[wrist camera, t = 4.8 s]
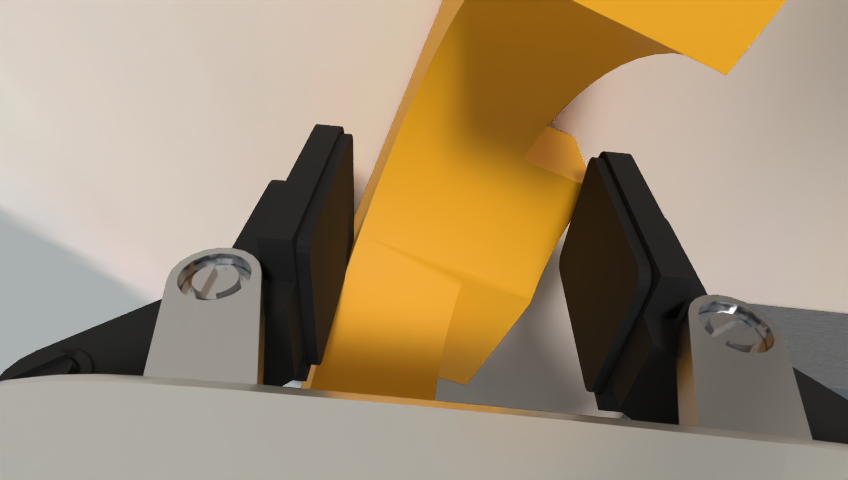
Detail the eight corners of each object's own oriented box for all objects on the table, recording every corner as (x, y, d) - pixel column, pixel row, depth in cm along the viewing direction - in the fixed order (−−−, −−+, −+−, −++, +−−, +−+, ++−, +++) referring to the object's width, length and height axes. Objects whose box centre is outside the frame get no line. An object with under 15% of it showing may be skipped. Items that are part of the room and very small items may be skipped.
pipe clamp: (464, 302, 17) (468, 504, 12) (336, 259, 16) (281, 458, 11) (735, -106, 10) (1032, -40, 5) (533, -223, 9) (635, -295, 4)
